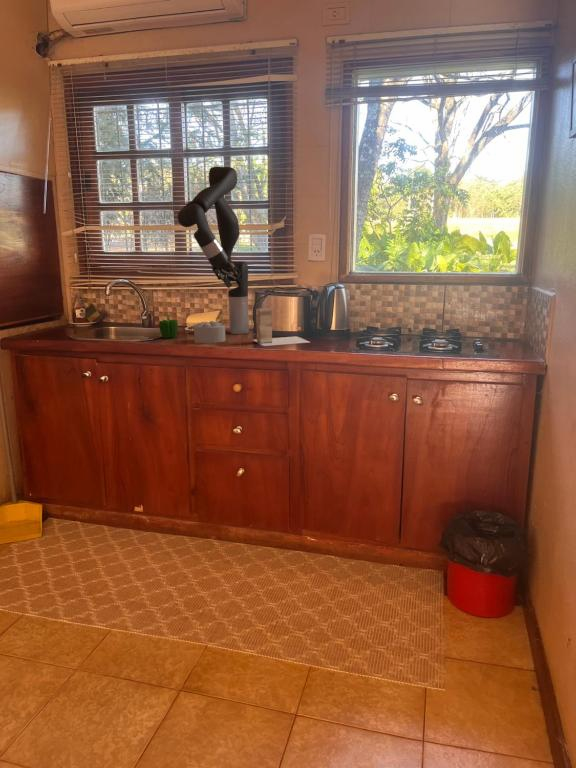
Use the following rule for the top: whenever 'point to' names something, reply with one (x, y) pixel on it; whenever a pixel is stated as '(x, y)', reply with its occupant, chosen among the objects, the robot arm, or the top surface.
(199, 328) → the lumpy-topped squat cylinder
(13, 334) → the top surface
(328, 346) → the top surface
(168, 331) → the bell pepper
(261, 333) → the maple block
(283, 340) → the grey mat
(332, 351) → the top surface
